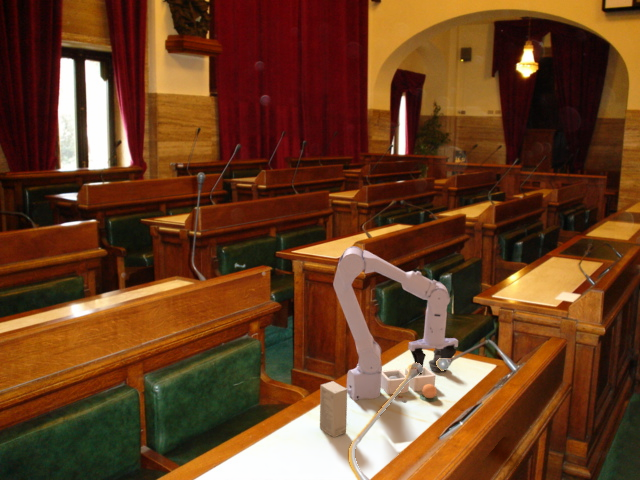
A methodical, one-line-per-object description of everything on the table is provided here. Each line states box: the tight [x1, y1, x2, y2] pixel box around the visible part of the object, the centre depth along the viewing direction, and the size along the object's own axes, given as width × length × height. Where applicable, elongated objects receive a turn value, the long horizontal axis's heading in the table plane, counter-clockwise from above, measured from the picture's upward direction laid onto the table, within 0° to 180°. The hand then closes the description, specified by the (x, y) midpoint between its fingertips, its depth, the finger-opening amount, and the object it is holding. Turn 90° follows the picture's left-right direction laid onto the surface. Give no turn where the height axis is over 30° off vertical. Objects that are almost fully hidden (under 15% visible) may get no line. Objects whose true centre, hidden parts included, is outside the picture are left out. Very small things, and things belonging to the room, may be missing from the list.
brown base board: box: [397, 393, 439, 404], centre depth 182 cm, size 16×14×2 cm
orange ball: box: [422, 384, 437, 398], centre depth 179 cm, size 4×4×4 cm
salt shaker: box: [428, 348, 444, 373], centre depth 197 cm, size 6×6×12 cm
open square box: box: [381, 368, 410, 395], centre depth 184 cm, size 7×7×4 cm
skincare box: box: [319, 380, 348, 438], centre depth 161 cm, size 6×4×12 cm
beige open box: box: [404, 366, 436, 392], centre depth 186 cm, size 7×7×4 cm
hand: (431, 371), depth 177 cm, fingers open, 7 cm apart
